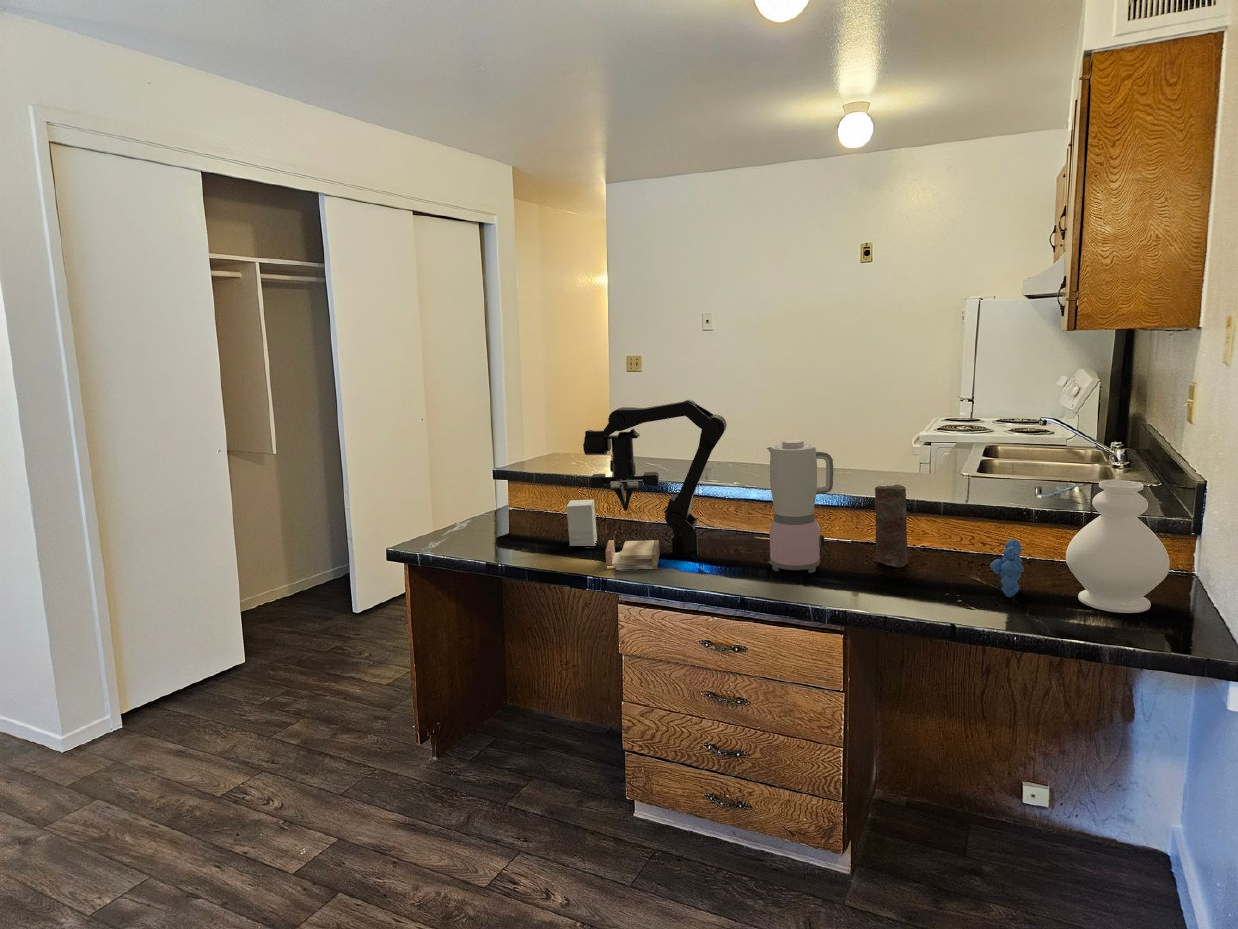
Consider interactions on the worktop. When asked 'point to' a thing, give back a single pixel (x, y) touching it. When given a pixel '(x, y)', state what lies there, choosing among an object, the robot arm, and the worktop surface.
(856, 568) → the worktop surface
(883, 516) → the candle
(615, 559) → the beige blocky piece
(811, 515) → the blender
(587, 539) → the supplement box
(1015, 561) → the grapes
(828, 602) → the worktop surface
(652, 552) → the beige open box
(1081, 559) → the decorative vase
